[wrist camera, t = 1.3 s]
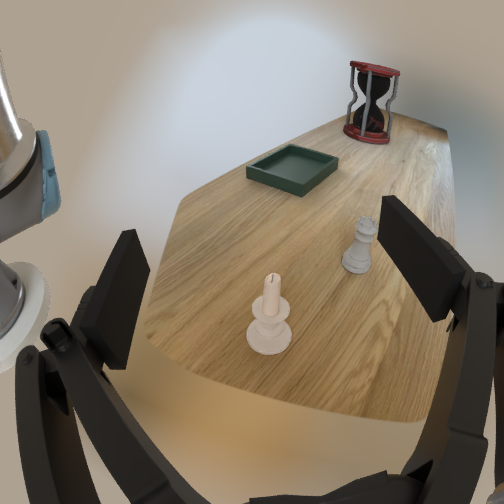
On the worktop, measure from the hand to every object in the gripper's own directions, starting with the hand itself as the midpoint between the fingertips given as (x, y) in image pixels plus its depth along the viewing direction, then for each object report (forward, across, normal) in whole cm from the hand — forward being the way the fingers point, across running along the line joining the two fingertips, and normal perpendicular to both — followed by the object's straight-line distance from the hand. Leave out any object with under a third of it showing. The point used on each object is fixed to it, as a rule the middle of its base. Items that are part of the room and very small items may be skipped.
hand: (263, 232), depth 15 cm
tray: (+49, +11, -16) cm, 53 cm away
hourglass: (+78, +43, -16) cm, 90 cm away
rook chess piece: (+19, +14, -20) cm, 31 cm away
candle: (+9, 0, -20) cm, 21 cm away
